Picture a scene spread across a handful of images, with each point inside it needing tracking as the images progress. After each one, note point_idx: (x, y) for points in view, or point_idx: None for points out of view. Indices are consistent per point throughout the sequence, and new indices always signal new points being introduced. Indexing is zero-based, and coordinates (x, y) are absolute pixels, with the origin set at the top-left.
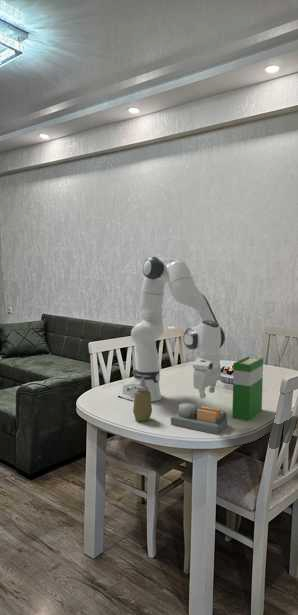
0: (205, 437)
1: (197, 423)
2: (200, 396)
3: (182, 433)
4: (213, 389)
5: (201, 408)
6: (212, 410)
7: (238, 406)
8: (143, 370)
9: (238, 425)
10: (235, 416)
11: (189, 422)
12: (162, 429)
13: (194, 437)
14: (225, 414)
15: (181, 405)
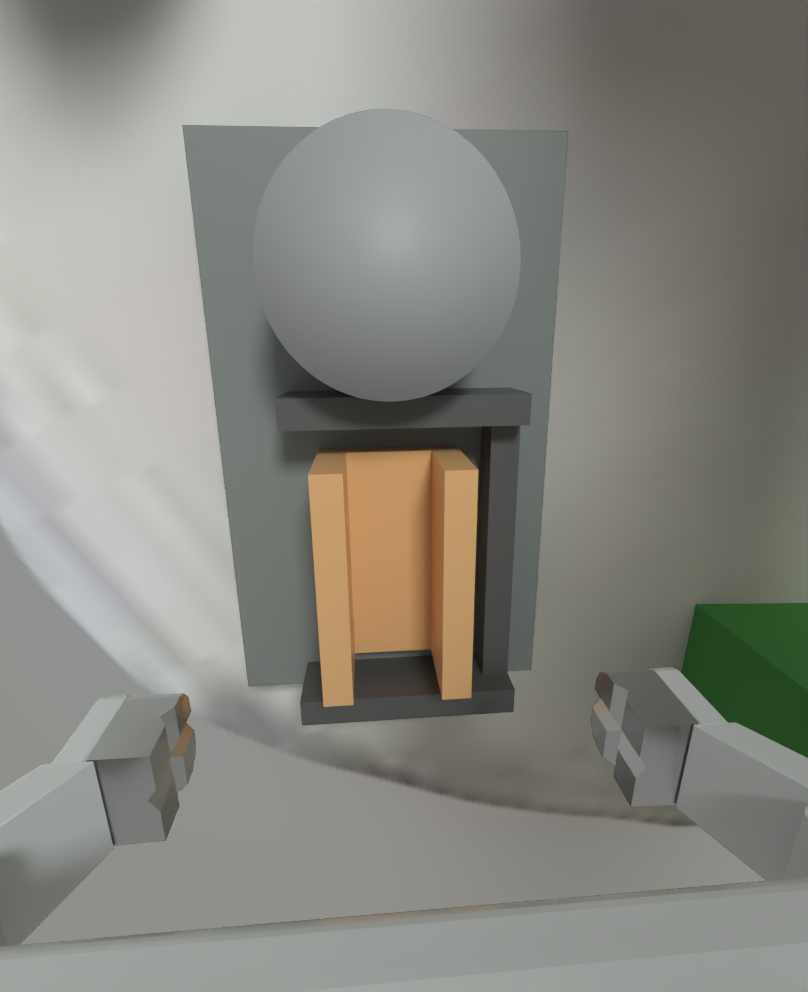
0: (143, 598)
1: (228, 495)
2: (91, 724)
3: (81, 393)
4: (641, 794)
5: (442, 473)
6: (439, 614)
7: (767, 728)
8: None
9: (541, 700)
10: (701, 638)
11: (218, 401)
12: (21, 143)
13: (77, 526)
14: (482, 706)
15: (353, 168)
